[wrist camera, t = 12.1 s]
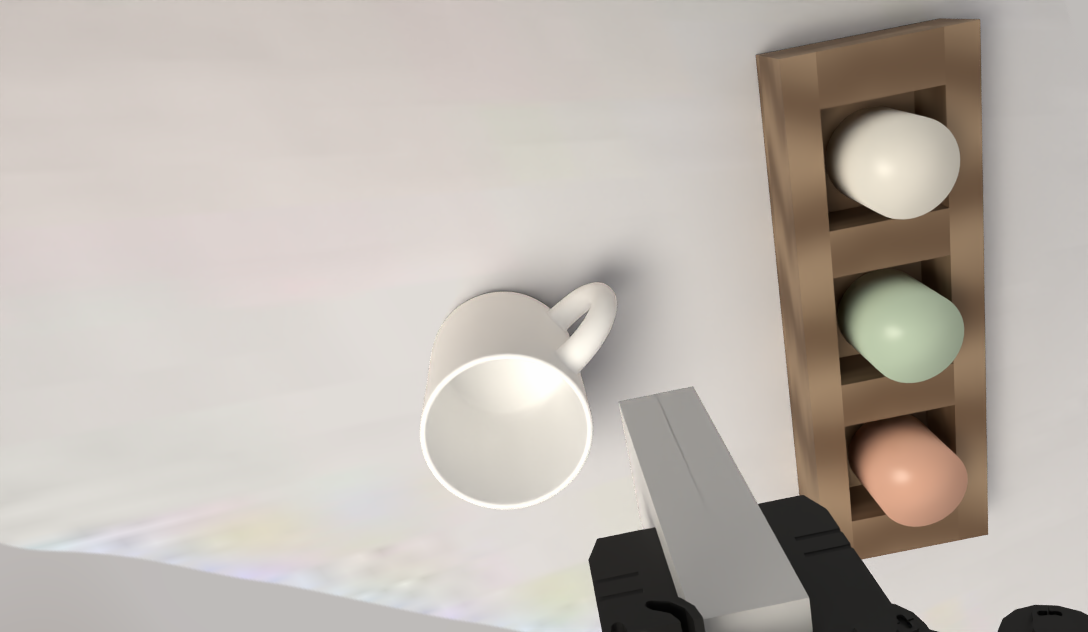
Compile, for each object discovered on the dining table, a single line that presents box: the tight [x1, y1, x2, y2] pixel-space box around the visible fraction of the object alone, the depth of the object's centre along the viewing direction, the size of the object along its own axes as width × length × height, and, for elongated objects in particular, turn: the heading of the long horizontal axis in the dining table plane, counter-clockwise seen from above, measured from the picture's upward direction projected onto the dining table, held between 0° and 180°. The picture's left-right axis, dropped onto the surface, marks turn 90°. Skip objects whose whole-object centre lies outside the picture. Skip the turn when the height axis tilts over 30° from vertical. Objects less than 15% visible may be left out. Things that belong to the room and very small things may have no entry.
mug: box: [420, 282, 617, 509], centre depth 46 cm, size 12×8×10 cm
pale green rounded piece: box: [837, 269, 964, 383], centre depth 48 cm, size 5×5×4 cm
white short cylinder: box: [825, 106, 960, 219], centre depth 45 cm, size 5×5×4 cm
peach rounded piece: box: [848, 414, 968, 527], centre depth 51 cm, size 5×5×4 cm
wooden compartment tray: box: [756, 19, 988, 559], centre depth 50 cm, size 30×10×4 cm, turn 11°
